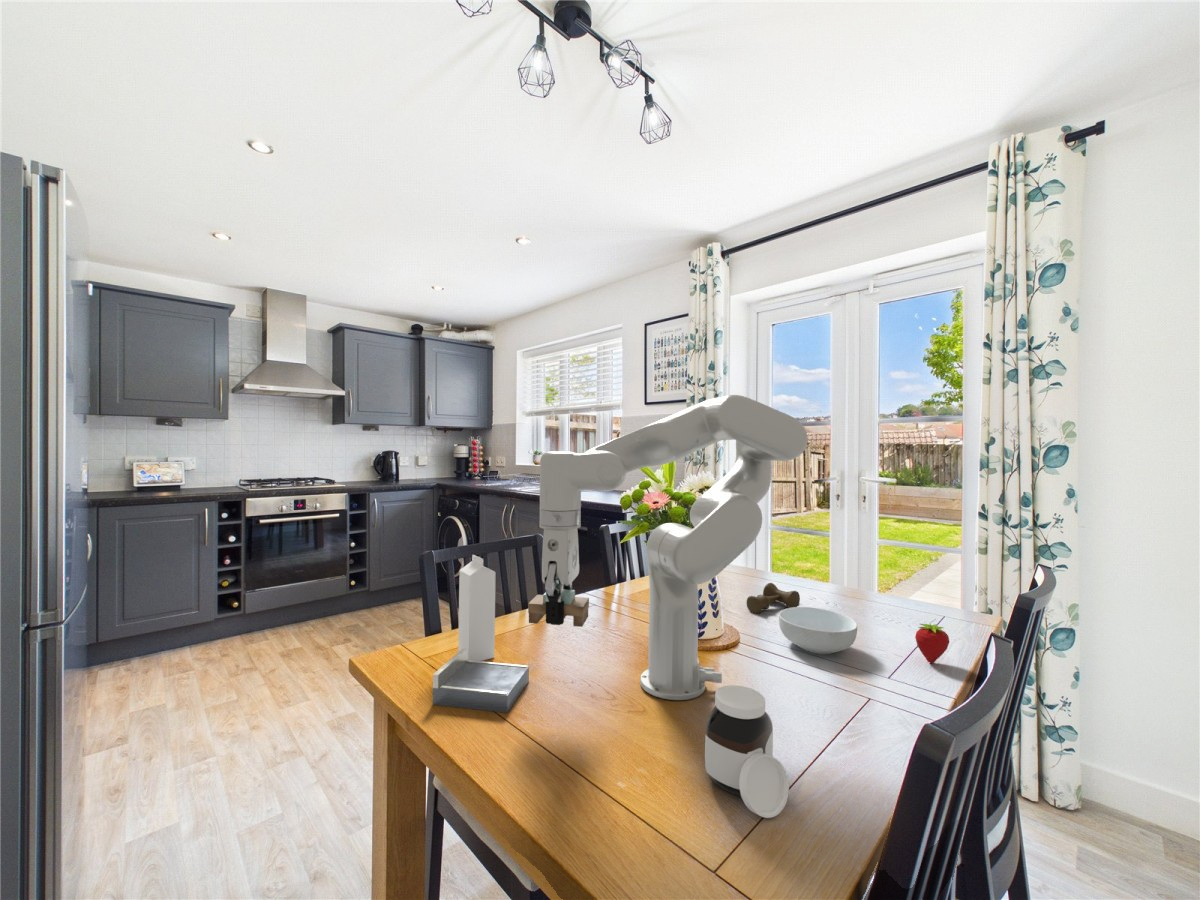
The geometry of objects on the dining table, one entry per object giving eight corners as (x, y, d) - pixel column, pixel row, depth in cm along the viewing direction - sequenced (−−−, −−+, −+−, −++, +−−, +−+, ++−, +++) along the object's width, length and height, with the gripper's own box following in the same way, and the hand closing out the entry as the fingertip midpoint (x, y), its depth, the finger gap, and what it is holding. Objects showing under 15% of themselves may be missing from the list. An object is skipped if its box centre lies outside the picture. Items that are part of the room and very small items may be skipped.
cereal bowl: (778, 656, 112) (779, 624, 112) (777, 631, 128) (778, 603, 128) (862, 667, 107) (863, 634, 107) (850, 640, 123) (851, 611, 123)
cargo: (574, 598, 93) (575, 590, 93) (570, 604, 89) (570, 596, 89) (549, 596, 94) (549, 588, 94) (543, 603, 90) (543, 594, 90)
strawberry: (955, 664, 109) (956, 619, 109) (937, 672, 105) (938, 624, 105) (926, 654, 114) (927, 611, 114) (908, 661, 110) (909, 616, 110)
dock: (528, 681, 98) (529, 653, 98) (507, 712, 86) (507, 681, 86) (462, 674, 101) (462, 648, 101) (432, 704, 89) (432, 674, 89)
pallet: (588, 616, 93) (588, 597, 93) (582, 626, 88) (582, 607, 88) (537, 613, 95) (537, 594, 95) (528, 622, 89) (528, 603, 89)
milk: (468, 664, 106) (469, 561, 105) (457, 655, 110) (458, 555, 110) (495, 657, 109) (496, 557, 109) (483, 648, 114) (484, 552, 114)
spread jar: (730, 752, 76) (731, 676, 76) (805, 785, 69) (806, 701, 69) (688, 791, 67) (690, 705, 67) (770, 835, 60) (772, 738, 60)
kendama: (738, 610, 146) (780, 597, 157) (766, 621, 138) (808, 606, 150) (738, 590, 146) (780, 579, 157) (766, 599, 138) (808, 587, 149)
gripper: (569, 526, 82) (568, 636, 82) (589, 513, 99) (588, 604, 99) (525, 525, 83) (524, 633, 83) (552, 512, 100) (551, 602, 100)
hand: (559, 616), depth 91 cm, fingers closed on pallet, 5 cm apart
